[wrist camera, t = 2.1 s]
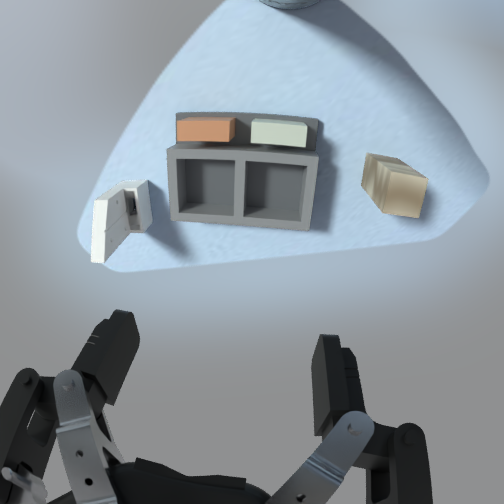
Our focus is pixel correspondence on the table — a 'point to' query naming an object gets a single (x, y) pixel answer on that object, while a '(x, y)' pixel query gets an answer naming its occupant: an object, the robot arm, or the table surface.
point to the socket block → (243, 169)
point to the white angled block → (119, 217)
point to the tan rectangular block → (394, 185)
